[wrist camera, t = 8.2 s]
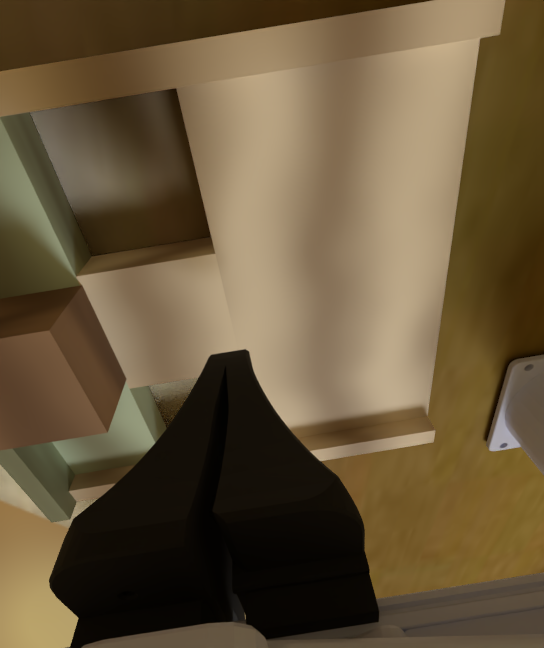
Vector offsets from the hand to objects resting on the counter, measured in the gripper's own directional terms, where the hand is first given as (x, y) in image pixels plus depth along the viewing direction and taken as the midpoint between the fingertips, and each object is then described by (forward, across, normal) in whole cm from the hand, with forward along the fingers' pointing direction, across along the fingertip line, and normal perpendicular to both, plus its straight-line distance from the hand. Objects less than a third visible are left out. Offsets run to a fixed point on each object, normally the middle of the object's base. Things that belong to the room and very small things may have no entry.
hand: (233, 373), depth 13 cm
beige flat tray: (+6, 0, 0) cm, 6 cm away
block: (+4, +8, 0) cm, 9 cm away
